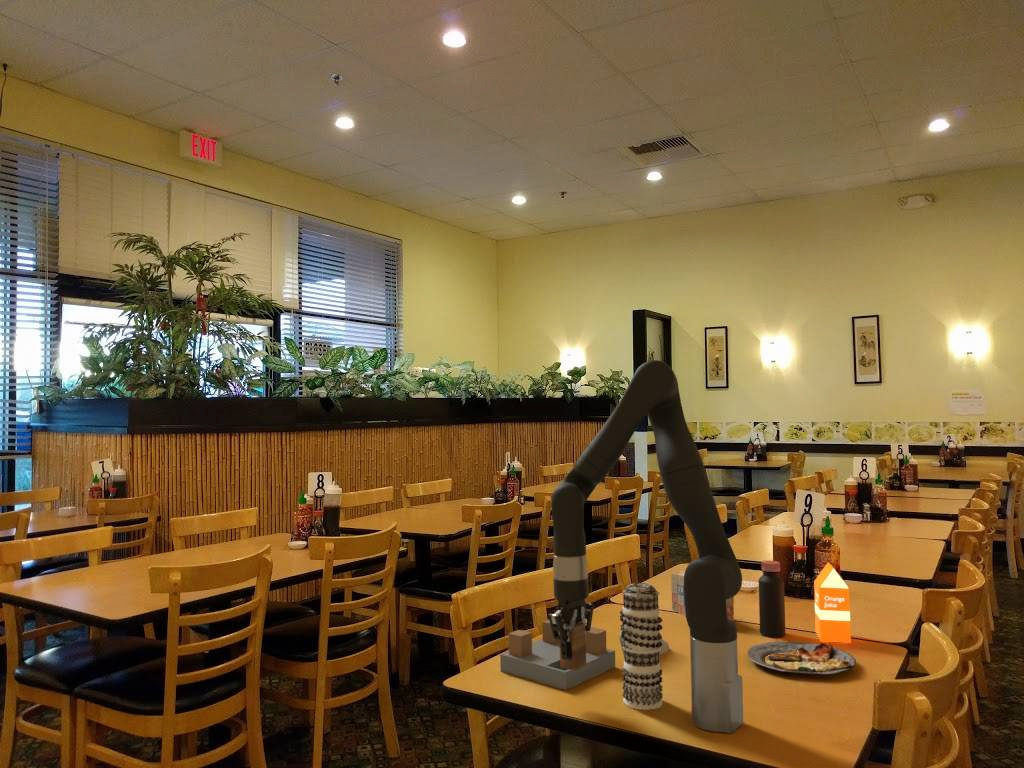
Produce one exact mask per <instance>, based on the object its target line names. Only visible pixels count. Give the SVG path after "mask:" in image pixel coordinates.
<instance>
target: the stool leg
mask: <svg viewBox="0 0 1024 768" xmlns="http://www.w3.org/2000/svg"><path fill="white" fill-rule="evenodd" d="M564 626H569V625H568V624H564ZM565 634H566V636H567V630H565ZM571 636H572V637H571V647H572V659H570V660H566V659H563V658H562V655H561V641H560V667H561V668H565V669H569V670H573V671H577V670H579V669H581V668H583V667H585V666H586V637H585V624H580V623H575V627H573V631H572V632H571Z"/></svg>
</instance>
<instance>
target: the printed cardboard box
mask: <svg viewBox="0 0 1024 768" xmlns="http://www.w3.org/2000/svg"><path fill="white" fill-rule="evenodd" d="M684 574H685V571H683V570H681V571H677V572H676V571H675V572H671V573H670V579H671V584H670V585H671V588H670V589H671V611H672V610H673V611H675V612H678V613H680V614H683V615H685V601H684ZM734 597H735V596H734ZM734 597H732V598H730V599H727V600H726V607H727V617H728V619H730V620H732V621H733V622H734V623H735V619H734V616H735V615H734V614H735V612H734V610H735V609H734V604H735V602H734V601H735V599H734ZM673 611H672V612H673ZM675 612H674V613H675ZM678 613H677V614H678ZM680 614H679V615H680ZM683 615H682V616H683ZM684 617H686V615H685V616H684Z"/></svg>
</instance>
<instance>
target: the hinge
mask: <svg viewBox="0 0 1024 768" xmlns="http://www.w3.org/2000/svg"><path fill="white" fill-rule="evenodd" d="M624 628H625V627H624ZM621 632H622V630H621V631H620V633H619V635H618V638H619V643H620V647H621V651H622V654H623V656H624V649H623V648H622V641H623V638H622V637H621ZM658 633H659V634H661V632H660V630H659V631H658ZM624 636H625V634H624ZM658 641H660V642H661V643H662V646H661V650H660V651H659V657H661V656H662V655H664V654H665V653H667V652H668V651H669V650H670V646H669V643H668V641H666V640H664V639H663V638H662V639H660V640H658ZM667 650H668V651H667ZM663 653H664V654H663ZM660 655H661V656H660Z"/></svg>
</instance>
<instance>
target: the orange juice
mask: <svg viewBox="0 0 1024 768" xmlns="http://www.w3.org/2000/svg"><path fill="white" fill-rule="evenodd" d="M813 582H814V585H813V586H814V613H815V614H814V615H815V616H814V618H815V619H814V623H815V634H816V633H817V634H816V636H817V635H818V636H817V638H818V637H819V638H818V639H820V640H819V641H820V643H829V642H843V643H842V644H847V643H852V642H851V641H852V639H851V610H850V609H851V607H850V588H849V586H848V585H847V584H846V582H845V581H844V579H842V577H841V575H840V574H839V573H838V572H837V571H836V569H835V568H834V567H833V565H831V563H830V562H829V561H828V562H827V563H826V565H825V566H823V568H822V570H821V571H820V572H819V574H818V576H817V577H816V578H815V580H814V581H813ZM844 642H845V643H844Z"/></svg>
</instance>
